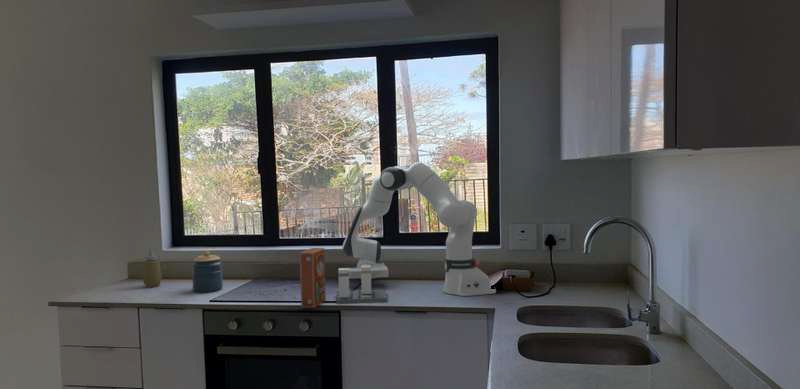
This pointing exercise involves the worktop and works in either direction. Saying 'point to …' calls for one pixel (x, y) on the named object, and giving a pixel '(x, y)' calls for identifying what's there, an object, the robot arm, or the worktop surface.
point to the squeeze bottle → (152, 271)
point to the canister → (207, 273)
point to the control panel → (312, 277)
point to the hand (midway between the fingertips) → (366, 276)
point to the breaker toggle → (366, 279)
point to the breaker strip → (355, 296)
